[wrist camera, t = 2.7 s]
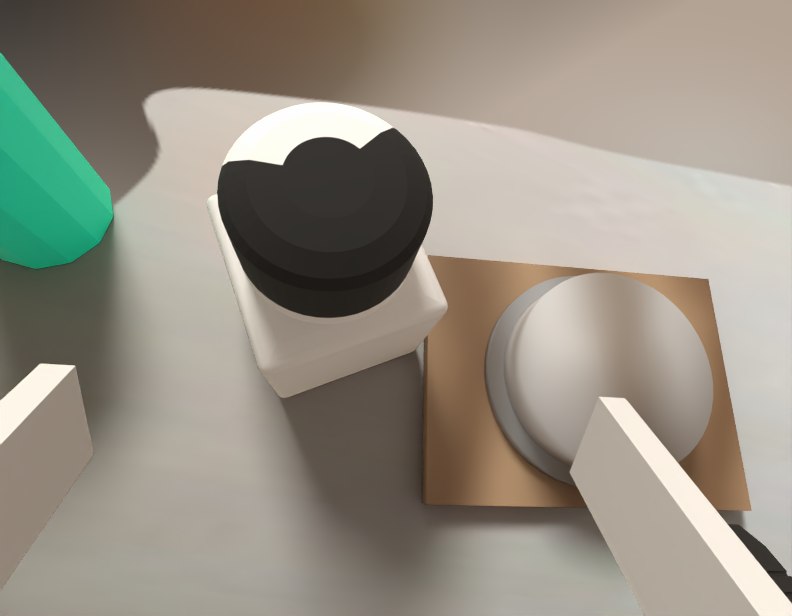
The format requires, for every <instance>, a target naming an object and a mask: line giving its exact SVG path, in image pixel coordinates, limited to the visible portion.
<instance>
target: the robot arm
mask: <svg viewBox="0 0 792 616" xmlns="http://www.w3.org/2000/svg"><path fill="white" fill-rule="evenodd" d="M93 454H94V452H93V447H92V442H91V437H90V433H89V428H88V423H87V418H86V413H85V409H84V404H83V399H82V394H81V389H80V385H79V380H78V375H77V370H76V366H74V365H57V364H39V365H38V366H37V367H36V368H35V369H34V370H33V371H32V372H31V373H30V374H29V375H27V376H26V377H25V378H24V379H23V380H22V381H21V382H20V383H19V384H18V385H17V386H16V387H15V388H14V389H12V390H11V391H10V392H9V393H8V394H7V395H6V396H5V397H4V398H3V399H2V400H1V401H0V591H1V589H2V588H3V586H4V585H5V583H6V582H7V580H8V579H9V577H10V576H11V574H12V573H13V572H14V570H15V569H16V567H17V566H18V564H19V563H20V561H21V560H22V558H23V557H24V555H25V554H26V553H27V551H28V550H29V548H30V547H31V545H32V544H33V542H34V541H35V539H36V538H37V536H38V535H39V534H40V532H41V531H42V529H43V528H44V526H45V525H46V523H47V522H48V520H49V519H50V517H51V516H52V514H53V513H54V512H55V510H56V509H57V507H58V506H59V504H60V503H61V501H62V500H63V498H64V497H65V495H66V494H67V493H68V491H69V490H70V488H71V487H72V485H73V484H74V482H75V481H76V479H77V478H78V476H79V475H80V474H81V472H82V471H83V469H84V468H85V466H86V465H87V463H88V462H89V460H90V459H91V457H92V456H93ZM570 474H571V476H572V478H573V480H574V482H575V484H576V486H577V488H578V489H579V491H580V493H581V495H582V497H583V499H584V501H585V503H586V505H587V507H588V509H589V510H590V512H591V514H592V516H593V518H594V520H595V522H596V524H597V526H598V528H599V530H600V531H601V533H602V535H603V537H604V539H605V541H606V543H607V545H608V547H609V549H610V550H611V552H612V554H613V556H614V558H615V560H616V562H617V564H618V566H619V568H620V570H621V571H622V573H623V575H624V577H625V579H626V581H627V583H628V585H629V587H630V589H631V591H632V592H633V594H634V596H635V598H636V600H637V602H638V604H639V606H640V608H641V610H642V611H643V613H644V615H645V616H792V577H791V576H788V575H787V573H786V572H787V571H786V570H785V569H784V568H783V566H782V565H781V564H780V563H779V562H778V561H777V559H776V558H775V557H774V556H773V555H772V553H771V552H770V551H769V550H768V549H767V548H766V546H764V545H763V544H762V543H761V542H759V541H758V540H757V539H756V538H754V537H753V536H752V535H751V534H750V533H748V532H747V531H746V530H745V529H743V528H742V527H741V526H740V525H733V524H727V523H726V522H725V521H724V519H723V518H722V517H721V516H720V514H719V513H718V512H717V511H716V509H715V508H714V507H713V506H712V505H711V503H710V502H709V501H708V500H707V498H706V497H705V496H704V495H703V493H702V492H701V491H700V490H699V489H698V487H697V486H696V485H695V484H694V482H693V481H692V480H691V479H690V477H689V476H688V475H687V474H686V472H685V471H684V470H683V469H682V468H681V466H680V465H679V464H678V463H677V461H676V460H675V459H674V458H673V456H672V455H671V454H670V453H669V452H668V450H667V449H666V448H665V447H664V445H663V444H662V443H661V442H660V440H659V439H658V438H657V437H656V436H655V434H654V433H653V432H652V431H651V429H650V428H649V427H648V426H647V424H646V423H645V422H644V421H643V419H642V418H641V417H640V416H639V415H638V413H637V412H636V411H635V410H634V408H633V407H632V406H631V405H630V403H629V402H628V401H627V400H626V399H625V398H613V397H598V400H597V402H596V405H595V408H594V410H593V413H592V415H591V418H590V420H589V423H588V426H587V428H586V431H585V433H584V436H583V439H582V441H581V444H580V446H579V449H578V451H577V454H576V457H575V459H574V462H573V464H572V467H571V470H570Z"/></svg>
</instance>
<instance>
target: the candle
mask: <svg viewBox="0 0 792 616" xmlns="http://www.w3.org/2000/svg"><path fill="white" fill-rule="evenodd" d="M112 218H113V209H112V201H111V194H110V189H109V188H108V187H107V186H106V184H105V183H104V182H103V181H102V179H101V178H100V177H99V176H98V174H97V173H96V172H95V170H94V169H93V168H92V167H91V165H90V164H89V163H88V162H87V160H86V159H85V158H84V157H83V155H82V154H81V153H80V152H79V151H78V149H77V148H76V147H75V145H74V144H73V143H72V142H71V140H70V139H69V138H68V137H67V135H66V134H65V133H64V132H63V130H62V129H61V128H60V127H59V125H58V124H57V123H56V122H55V120H54V119H53V118H52V117H51V115H50V114H49V113H48V112H47V110H46V109H45V108H44V107H43V105H42V104H41V103H40V102H39V100H38V99H37V98H36V97H35V95H34V94H33V93H32V92H31V91H30V89H29V88H28V87H27V85H26V84H25V83H24V82H23V80H22V79H21V78H20V77H19V75H18V74H17V73H16V72H15V71H14V69H13V68H12V67H11V65H10V64H9V63H8V62H7V61H6V59H5V58H4V56H3V55H2V54H1V53H0V259H2V260H4V261H8V262H11V263H15V264H19V265H22V266H26V267H30V268H33V269H40V268H45V267H50V266H56V265H61V264H67V263H72V262H73V261H75V260H76V259H77V258H79V257H80V256H82V255H83V254H85V253H86V252H88V251H89V250H90V249H92V248H93V247H95V246H96V245H98V244H99V243H100V242H101V240H102V238H103V236H104V234H105V232H106V230H107V228H108V226H109V224H110V222H111V220H112Z"/></svg>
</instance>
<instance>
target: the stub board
mask: <svg viewBox="0 0 792 616" xmlns="http://www.w3.org/2000/svg"><path fill="white" fill-rule="evenodd" d="M428 259H429V262H430V264H431V266H432V269H433V271H434V273H435V275H436V278H437V280H438V282H439V285H440V287H441V289H442V292H443V294H444V296H445V298H446V301H447V305H448V308H447V311H446V313H445V314H444V315H443V316H442V318H441V319H440V320H439V321H438V323H437V324H436V325H435V326H434V327H433V329H432V330H431V331H430V332H429V334H428V335H427V336H426V337H425V338H424V376H423V471H422V503H424V504H426V505H472V506H526V507H580V508H588V507H587V505H586V503H585V501H584V499H583V497H582V495H581V493H580V491H579V489H578V488H577V486H576V484H575V482H574V480H573V478H572V476H571V474H570V470H571V467H572V464H573V462H574V459H575V457H576V454H577V451H578V449H579V446H580V444H581V441H582V439H583V436H584V433H585V431H586V428H587V426H588V423H589V420H590V418H591V415H592V413H593V410H594V408H595V405H596V402H597V400H598V397H613V398H625V399H626V400H627V401H628V402H629V403H630V405H631V406H632V407H633V408H634V410H635V411H636V412H637V413H638V415H639V416H640V417H641V418H642V419H643V421H644V422H645V423H646V424H647V426H648V427H649V428H650V429H651V431H652V432H653V433H654V434H655V436H656V437H657V438H658V439H659V440H660V442H661V443H662V444H663V445H664V447H665V448H666V449H667V450H668V452H669V453H670V454H671V455H672V456H673V458H674V459H675V460H676V461H677V463H678V464H679V465H680V466H681V468H682V469H683V470H684V471H685V472H686V474H687V475H688V476H689V477H690V479H691V480H692V481H693V482H694V484H695V485H696V486H697V487H698V489H699V490H700V491H701V492H702V493H703V495H704V496H705V497H706V498H707V500H708V501H709V502H710V503H711V505H712V506H713V507H714V508H715V509H716V510H742V511H751V505H750V500H749V495H748V489H747V484H746V479H745V473H744V468H743V463H742V457H741V452H740V447H739V441H738V436H737V431H736V425H735V420H734V415H733V409H732V404H731V399H730V393H729V388H728V383H727V377H726V372H725V367H724V361H723V356H722V351H721V345H720V340H719V335H718V329H717V324H716V319H715V313H714V308H713V303H712V297H711V292H710V287H709V281H708V279H700V278H688V277H676V276H664V275H653V274H641V273H629V272H618V271H606V270H594V269H583V268H571V267H559V266H547V265H536V264H524V263H512V262H501V261H489V260H477V259H466V258H454V257H442V256H430V255H428Z"/></svg>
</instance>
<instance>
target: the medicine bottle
mask: <svg viewBox="0 0 792 616" xmlns="http://www.w3.org/2000/svg"><path fill="white" fill-rule="evenodd" d="M207 208H208V211H209V214H210V218H211V221H212V224H213V227H214V230H215V233H216V236H217V239H218V243H219V246H220V249H221V252H222V255H223V258H224V261H225V265H226V268H227V271H228V274H229V277H230V280H231V283H232V286H233V290H234V293H235V296H236V299H237V302H238V305H239V308H240V312H241V315H242V318H243V321H244V324H245V327H246V330H247V334H248V337H249V340H250V343H251V346H252V349H253V352H254V355H255V359H256V362H257V365H258V368H259V370H260V371H261V373H262V374H263V375H264V377H265V378H266V379H267V381H268V382H269V383H270V385H271V386H272V387H273V389H274V390H275V391H276V393H277V394H278V396H279V397H282V398H287V397H290V396H293V395H296V394H298V393H301V392H304V391H307V390H309V389H312V388H315V387H318V386H320V385H323V384H326V383H329V382H331V381H334V380H337V379H339V378H342V377H345V376H348V375H350V374H353V373H356V372H359V371H361V370H364V369H367V368H370V367H372V366H375V365H378V364H381V363H383V362H386V361H389V360H392V359H394V358H397V357H400V356H402V355H405V354H408V353H411V352H413V351H414V350H415V349H416V348H417V347H418V346H419V345H420V343H421V342H422V341H423V340H424V338H425V337H426V336H427V335H428V334H429V332H430V331H431V330H432V329H433V327H434V326H435V325H436V324H437V323H438V321H439V320H440V319H441V318H442V316H443V315H444V314H445V313H446V311H447V308H448V305H447V301H446V298H445V296H444V294H443V292H442V289H441V287H440V285H439V282H438V280H437V278H436V275H435V273H434V271H433V269H432V266H431V264H430V262H429V259H428V257H427V255H426V252H425V250H424V248H423V245H422V242H423V240H424V238H425V235H426V233H427V230H428V227H429V224H430V221H431V215H432V209H433V195H432V187H431V182H430V179H429V175H428V172H427V169H426V167H425V165H424V163H423V161H422V159H421V157H420V156H419V154H418V153H417V151H416V149H415V148H414V147H413V146H412V145H411V143H410V142H409V141H408V140H407V139H406V138H405V137H404V136H403V135H402V134H401V133H400V132H399V131H398V130H396V129H395V128H394V127H392V126H391V125H389V124H388V123H387V122H385V121H383V120H382V119H380V118H378V117H376V116H374V115H373V114H371V113H368V112H366V111H363V110H361V109H358V108H355V107H351V106H347V105H342V104H336V103H321V102H320V103H306V104H301V105H295V106H292V107H288V108H285V109H282V110H279V111H277V112H275V113H273V114H271V115H268V116H266V117H265V118H263V119H261V120H260V121H258V122H257V123H255V124H254V125H252V126H251V127H250V128H249V129H248V130H246V131H245V132H244V133H243V134H242V135H241V136H240V138H239V139H238V140H237V141H236V142H235V143H234V145H233V146H232V148H231V149H230V151H229V152H228V154H227V156H226V158H225V161H224V163H223V165H222V168H221V172H220V175H219V180H218V190H217V194H215V195H213V196H211V197H209V199H208V200H207Z"/></svg>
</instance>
